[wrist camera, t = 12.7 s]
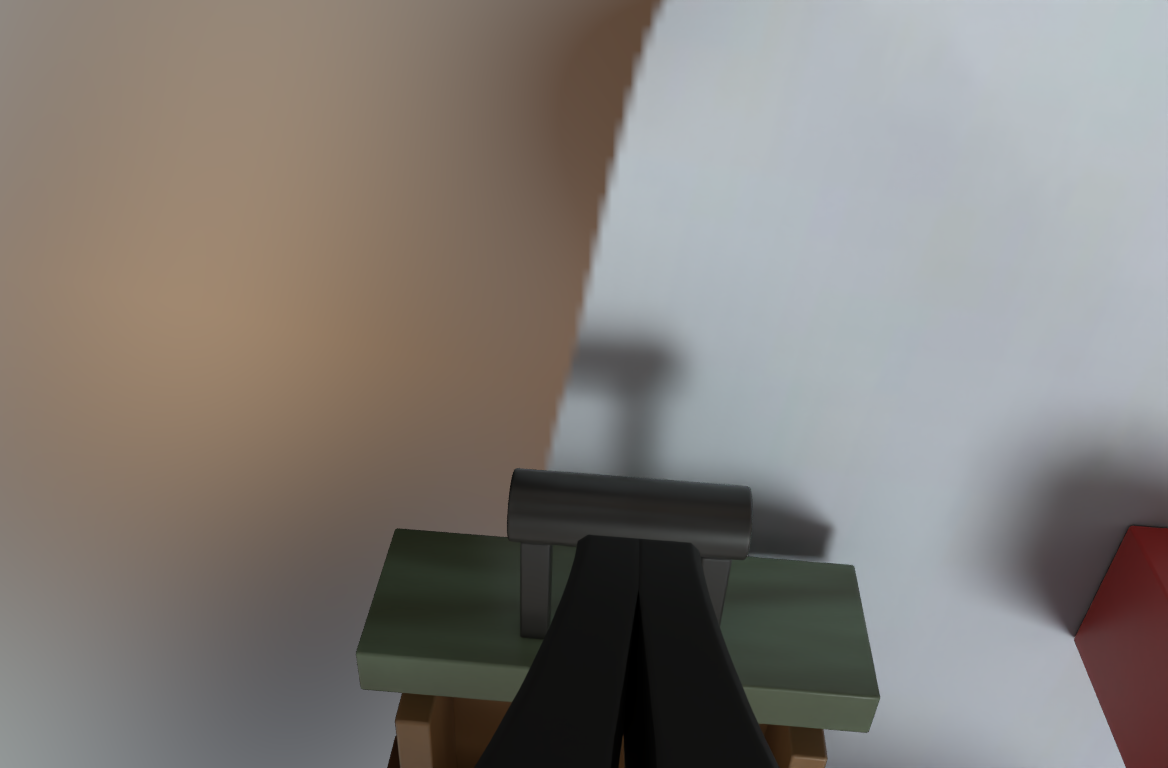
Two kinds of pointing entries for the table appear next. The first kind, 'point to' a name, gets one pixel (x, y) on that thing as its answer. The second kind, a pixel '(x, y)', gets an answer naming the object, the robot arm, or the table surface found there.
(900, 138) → the table surface
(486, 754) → the robot arm
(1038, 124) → the table surface
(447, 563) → the drawer
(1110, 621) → the red rectangular block
